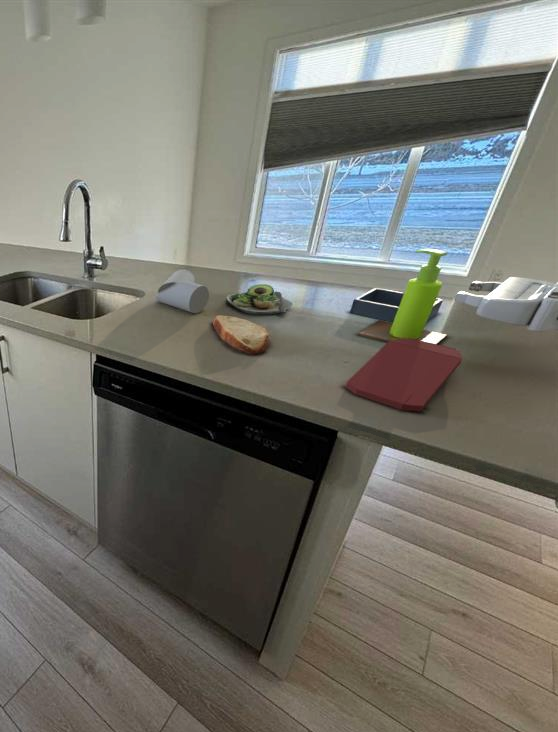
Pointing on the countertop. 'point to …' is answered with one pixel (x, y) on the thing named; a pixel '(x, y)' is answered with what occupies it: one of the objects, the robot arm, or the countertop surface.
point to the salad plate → (259, 301)
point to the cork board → (382, 333)
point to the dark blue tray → (383, 304)
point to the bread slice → (242, 334)
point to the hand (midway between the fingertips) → (463, 290)
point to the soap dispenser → (418, 298)
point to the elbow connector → (183, 292)
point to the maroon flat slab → (405, 373)
